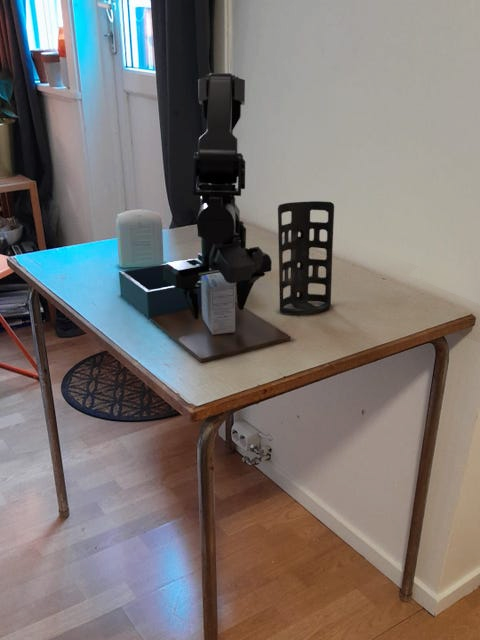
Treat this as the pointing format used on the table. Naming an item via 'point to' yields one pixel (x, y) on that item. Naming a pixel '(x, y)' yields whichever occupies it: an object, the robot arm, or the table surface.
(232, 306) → the medicine box
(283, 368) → the table surface
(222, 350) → the board
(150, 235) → the grey rounded block
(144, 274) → the tote
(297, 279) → the holder
